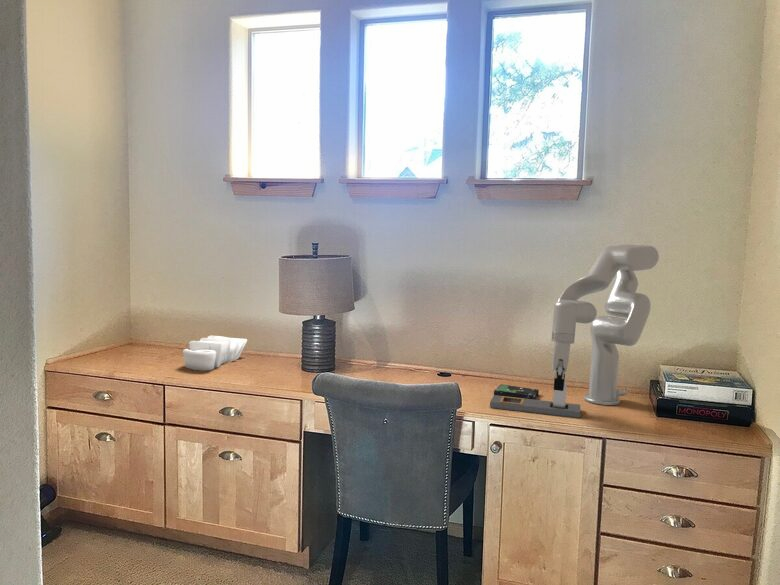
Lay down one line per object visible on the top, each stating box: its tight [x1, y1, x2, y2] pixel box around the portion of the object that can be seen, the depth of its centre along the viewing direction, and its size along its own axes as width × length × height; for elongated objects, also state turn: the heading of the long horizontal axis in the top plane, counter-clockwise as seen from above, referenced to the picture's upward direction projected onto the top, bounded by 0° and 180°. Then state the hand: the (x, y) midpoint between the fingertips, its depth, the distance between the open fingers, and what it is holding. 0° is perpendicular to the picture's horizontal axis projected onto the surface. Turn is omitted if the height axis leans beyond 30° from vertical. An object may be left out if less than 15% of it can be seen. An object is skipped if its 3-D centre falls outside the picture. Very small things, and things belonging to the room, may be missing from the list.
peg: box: [552, 381, 568, 409], centre depth 211 cm, size 4×4×10 cm
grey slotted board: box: [489, 394, 581, 419], centre depth 214 cm, size 30×10×2 cm, turn 73°
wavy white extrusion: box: [182, 334, 248, 372], centre depth 267 cm, size 35×16×10 cm, turn 163°
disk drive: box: [493, 383, 540, 400], centre depth 232 cm, size 10×3×15 cm
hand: (558, 387), depth 210 cm, fingers open, 9 cm apart
